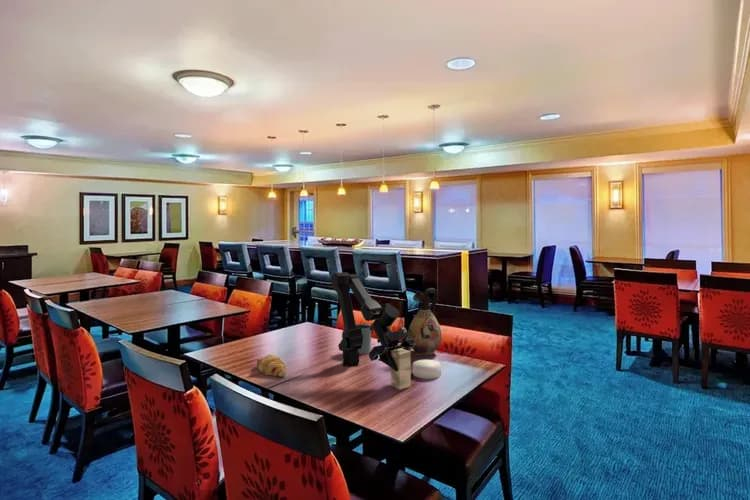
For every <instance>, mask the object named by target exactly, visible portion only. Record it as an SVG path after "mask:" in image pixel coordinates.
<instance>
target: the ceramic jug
mask: <svg viewBox="0 0 750 500" xmlns="http://www.w3.org/2000/svg"><path fill="white" fill-rule="evenodd" d="M430 293H431V294H433V298H432V299H431V297H430V296H429V294H430ZM438 299H439V293H438V290H437V289H435V288H434V287H428V288H427V289H425V290H424V293H422V292H420V291H417V292H415V293H414V295H413V297H412V300H413V301H416V302H418V303H419V304H421V305H420V308H419V310H418V312H417V313H416V314H415V316H414V317H413V319H412V320H411V323H409V326H408V330H407V333H408V335H407V339H413V340H414V342H415V343H416V344H415V345H414V346H413V347H412V350H413V353H414V354H415V355H418V356H432V355H434V354H435V351H436V350H437V348H438V347H440V345H441V342H442V336H443V335H442V334H443V333H442V330H441V326H440V323H439V322H438V320H437V318H436V316H435V309H436V304H437V301H438ZM429 303H431V304H430V305H429Z"/></svg>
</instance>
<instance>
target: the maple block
mask: <svg viewBox="0 0 750 500" xmlns="http://www.w3.org/2000/svg"><path fill="white" fill-rule="evenodd" d="M391 355H392V358H393V360H394V362H395V364H396V366H397V368H398V371H397V372H396V371H395V370H393V369H392V368H391V367H390V378H391V379H390V384H391V386H392V387H394V388H395V389H397V390H399V391H400V390H404V389H407V388H410V387H411V350H410V351H408V350H405V349H402V348H401V349H396V350H392V351H391Z"/></svg>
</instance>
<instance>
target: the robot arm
mask: <svg viewBox="0 0 750 500" xmlns="http://www.w3.org/2000/svg"><path fill="white" fill-rule="evenodd" d="M330 282H331V286H332V289H333V290H334V291H335V292H336V293H337V295H338V300H339V305H340V312H341V317H342V321H343V322H342V323H343V331H342V333H341V341H340V342H339V343H338V345H337V346H338V350H339V351H341V352H342V366H343V367H351V366H352V367H353V366H359V363H360V354H359V352H358V349H361V348H362V343H363V335H362V329H361V328H358V327H357V326H356V320H355V314H354V310H353V309H354V308H353V304H352V298H351V294H350V292H351V291H352V293H353V295H354V296H355V298H356V300H357V301H358V303H359V305H360V313H361V315H362V317H363V318H364V321H368V322H371V321H373V322H371V323H370V325H371V326H370V330H371V331H374V333H375V335H376V337H377V340H376V342H377V344H379V343H380V345H376V346H373V348H371V350H370V353H368V357H369V360H370V361H371V362H373V361H377V360H378V361H379V362H381V363H383V364H385V365H386V366H388V367H389V368H390V369H391V368H392V369H393V370H395V371H396V372H397V371H398V368H397V366H396V364H395V362H394V360H393V358H392V355H391V351H392V350H396V349H401V348H402V349H405V350H408V351H410V352H411V350H413V348H412V347H413V346H414V345H415V344H416V343H415V342H414V340H413V339H408V338H407V339H406V337H408V330H407V329H406V327H400V328H399V329H398V330H392V329H391V328H390V327H391V326H392V325H394V322H395V321H397V319H398V317H399V316H400V311H399V310H398V308H396V307H395V306H394V305H391V304H390V303H385V304H384V305H383V307H382V306H381V304H379V302H378V301H377V300H374V299H373V298H372V297H371V296H370V294H369V292H368V291H367V290H366V288H365V285H363V283H362V282H361V280H360V277H359V275H358V274H356V273H355V274H353V273H352V274H350V273H349V272H347V271H346V272H335V273H333V274H332V276H331V277H330ZM403 339H404V340H403ZM402 340H403V341H402ZM401 341H402V342H401Z"/></svg>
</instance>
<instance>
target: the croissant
mask: <svg viewBox="0 0 750 500" xmlns="http://www.w3.org/2000/svg"><path fill="white" fill-rule="evenodd" d="M256 367H257V370H258V371H259V373H262V374H263V375H265V374H268V375H267V376H271V375H273V376H272V377H278V378H282V377H285V376H286V375H287V367H286V364H285V363H284V362H283V361H282V359H281V358H280V357H279V356H277V355H273V354H268V355H266V356H264V357H261V358H258V359H256Z"/></svg>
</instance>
